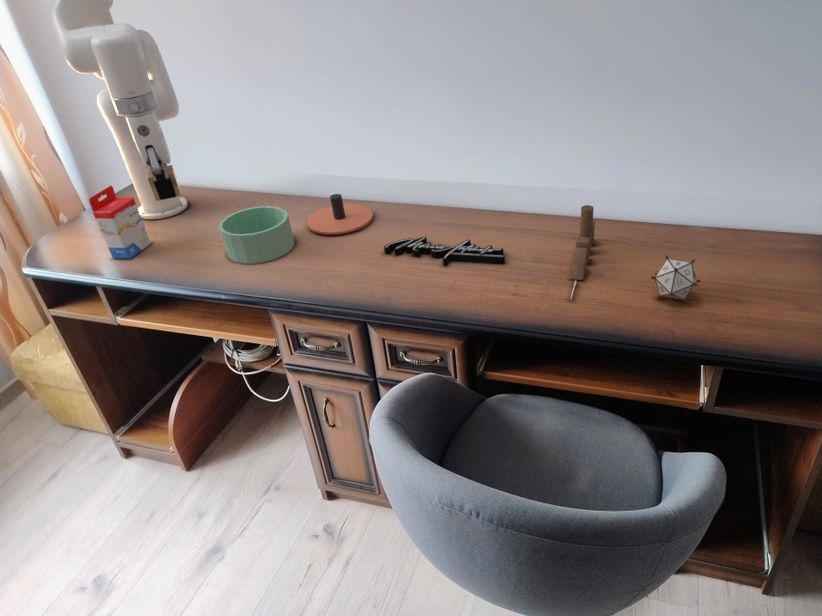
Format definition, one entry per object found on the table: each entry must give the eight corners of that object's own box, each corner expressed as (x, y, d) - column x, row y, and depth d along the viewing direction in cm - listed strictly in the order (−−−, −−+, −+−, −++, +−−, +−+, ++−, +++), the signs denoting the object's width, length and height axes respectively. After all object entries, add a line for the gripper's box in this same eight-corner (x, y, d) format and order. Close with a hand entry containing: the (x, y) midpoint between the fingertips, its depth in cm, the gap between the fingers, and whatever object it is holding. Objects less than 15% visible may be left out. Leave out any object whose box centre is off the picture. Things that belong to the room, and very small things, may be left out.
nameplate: (377, 255, 137) (392, 234, 145) (378, 261, 138) (393, 240, 146) (502, 263, 131) (510, 240, 139) (502, 269, 132) (510, 247, 140)
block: (155, 192, 133) (146, 169, 130) (179, 187, 135) (172, 164, 132) (155, 201, 130) (147, 177, 127) (181, 196, 131) (173, 172, 128)
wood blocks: (582, 240, 140) (584, 196, 134) (594, 241, 139) (596, 197, 133) (564, 300, 121) (566, 251, 115) (577, 301, 120) (580, 252, 114)
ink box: (130, 259, 146) (105, 200, 138) (112, 258, 147) (85, 199, 139) (152, 242, 153) (129, 184, 144) (134, 241, 154) (110, 184, 145)
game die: (659, 311, 122) (640, 263, 122) (702, 294, 121) (683, 245, 120) (667, 315, 114) (646, 263, 113) (714, 296, 112) (693, 243, 112)
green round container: (223, 242, 151) (215, 215, 146) (288, 227, 155) (281, 200, 151) (231, 270, 139) (222, 241, 135) (301, 253, 144) (294, 225, 139)
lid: (301, 217, 160) (295, 192, 156) (362, 203, 164) (358, 178, 160) (315, 242, 147) (309, 216, 143) (381, 226, 152) (377, 200, 148)
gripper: (158, 111, 116) (189, 204, 127) (154, 89, 128) (183, 175, 139) (113, 118, 114) (149, 212, 125) (115, 95, 126) (147, 182, 137)
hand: (167, 192), depth 132 cm, fingers closed on block, 5 cm apart
